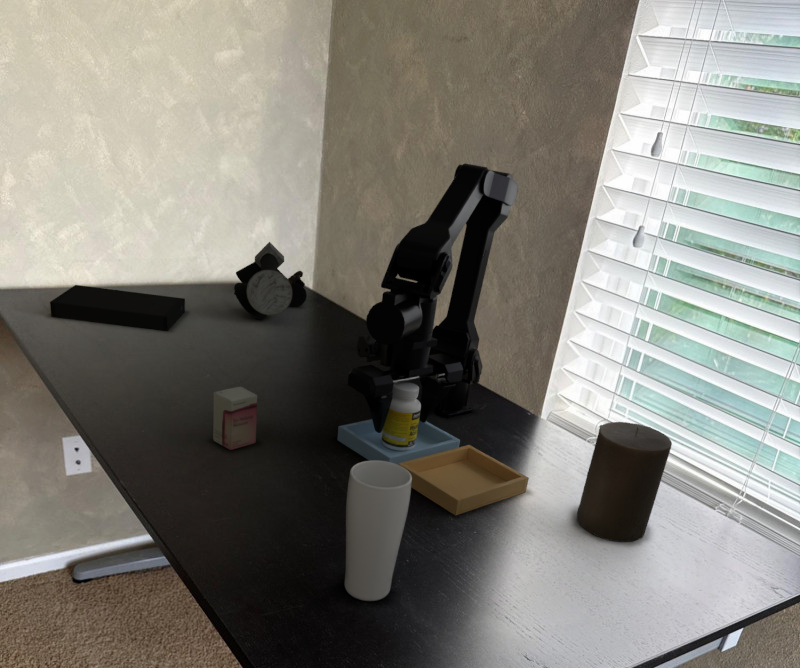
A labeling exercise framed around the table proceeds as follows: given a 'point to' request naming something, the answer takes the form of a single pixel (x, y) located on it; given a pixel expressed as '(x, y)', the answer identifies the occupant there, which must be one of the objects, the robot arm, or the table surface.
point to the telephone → (268, 285)
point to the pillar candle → (623, 480)
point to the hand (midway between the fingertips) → (400, 426)
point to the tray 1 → (371, 447)
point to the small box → (234, 417)
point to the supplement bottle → (402, 417)
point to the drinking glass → (374, 526)
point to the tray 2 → (464, 479)
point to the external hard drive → (118, 307)
